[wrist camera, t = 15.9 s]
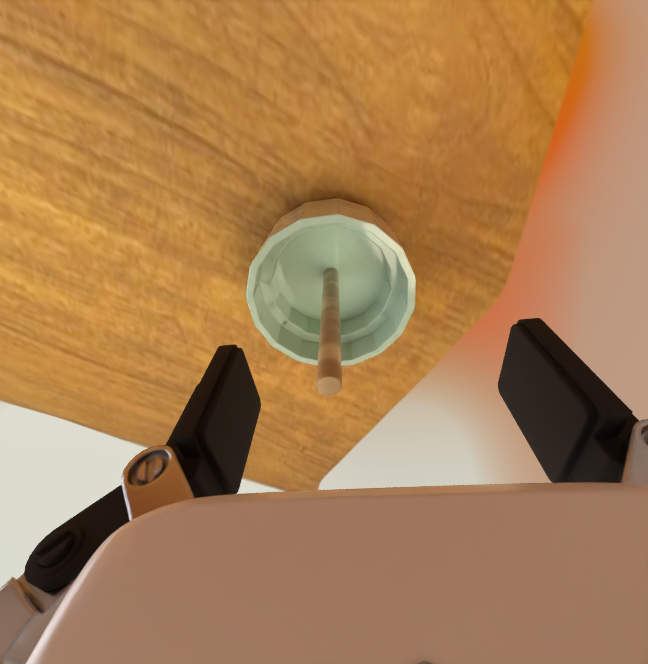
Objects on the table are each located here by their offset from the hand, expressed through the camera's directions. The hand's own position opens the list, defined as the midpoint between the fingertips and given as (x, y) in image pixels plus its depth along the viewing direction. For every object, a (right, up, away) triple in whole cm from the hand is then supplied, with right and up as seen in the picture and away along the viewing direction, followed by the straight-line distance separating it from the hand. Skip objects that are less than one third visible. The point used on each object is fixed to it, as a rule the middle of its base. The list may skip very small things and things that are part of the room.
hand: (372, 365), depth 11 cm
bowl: (-1, +7, +19) cm, 20 cm away
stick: (-1, +7, +18) cm, 19 cm away
